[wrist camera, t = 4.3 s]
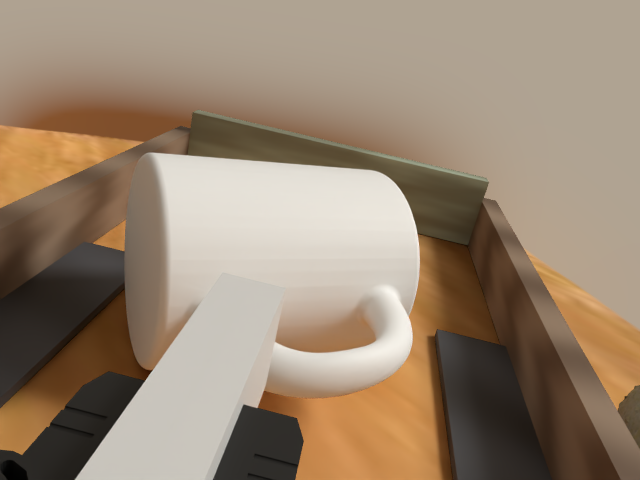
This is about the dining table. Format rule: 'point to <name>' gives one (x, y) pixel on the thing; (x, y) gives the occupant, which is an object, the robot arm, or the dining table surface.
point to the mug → (276, 262)
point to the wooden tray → (452, 349)
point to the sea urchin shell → (632, 413)
